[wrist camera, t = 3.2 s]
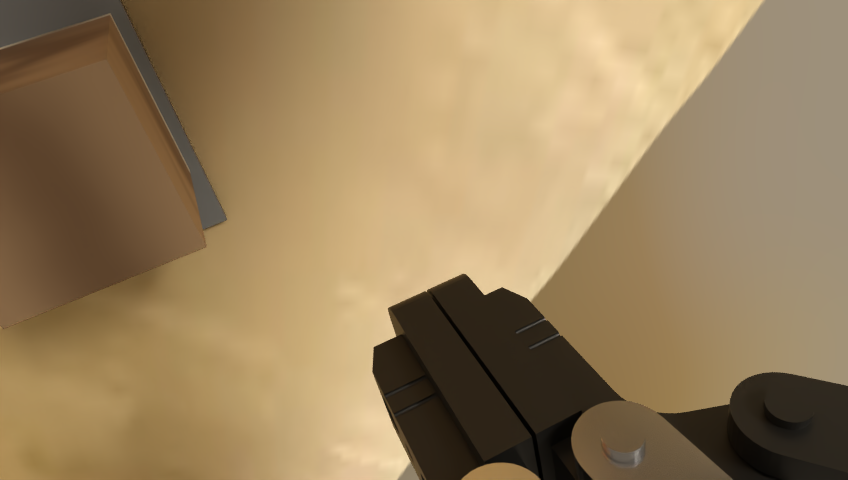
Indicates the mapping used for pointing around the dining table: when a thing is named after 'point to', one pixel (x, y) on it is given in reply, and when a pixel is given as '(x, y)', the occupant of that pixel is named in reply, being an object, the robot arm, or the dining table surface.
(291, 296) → the dining table surface
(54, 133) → the walnut cube
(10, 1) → the placemat
